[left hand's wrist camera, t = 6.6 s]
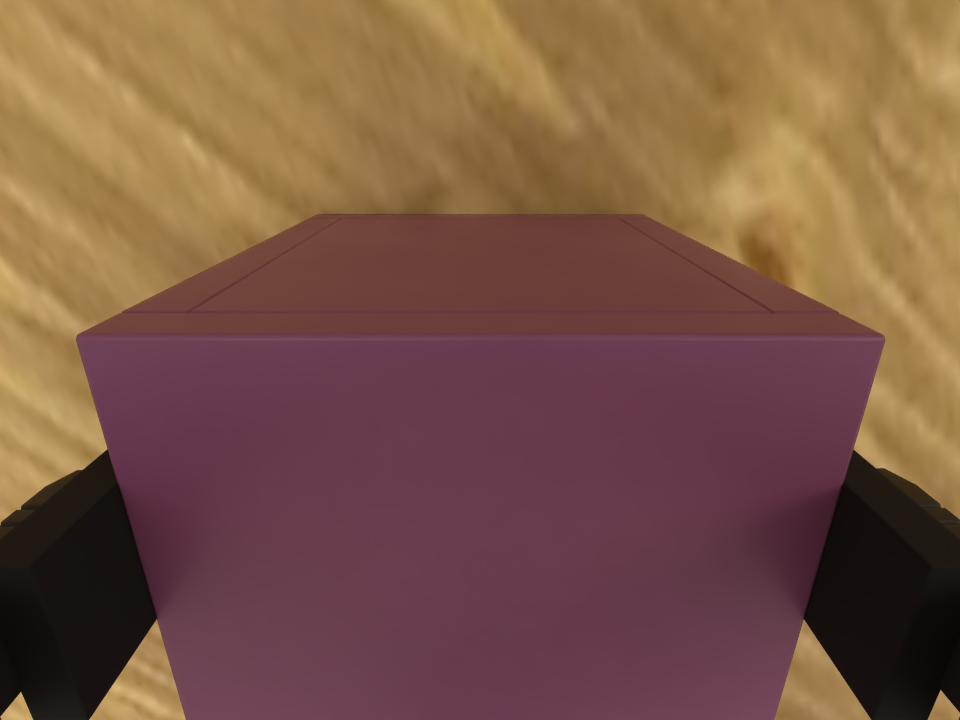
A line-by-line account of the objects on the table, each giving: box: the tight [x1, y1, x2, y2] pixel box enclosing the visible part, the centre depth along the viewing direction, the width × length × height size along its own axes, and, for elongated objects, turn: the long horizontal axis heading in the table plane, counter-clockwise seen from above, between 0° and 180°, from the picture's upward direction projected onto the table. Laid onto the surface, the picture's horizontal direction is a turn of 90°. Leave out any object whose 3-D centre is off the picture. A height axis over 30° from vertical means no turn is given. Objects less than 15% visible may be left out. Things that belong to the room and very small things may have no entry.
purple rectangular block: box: [76, 214, 885, 720], centre depth 17 cm, size 20×11×12 cm, turn 0°
